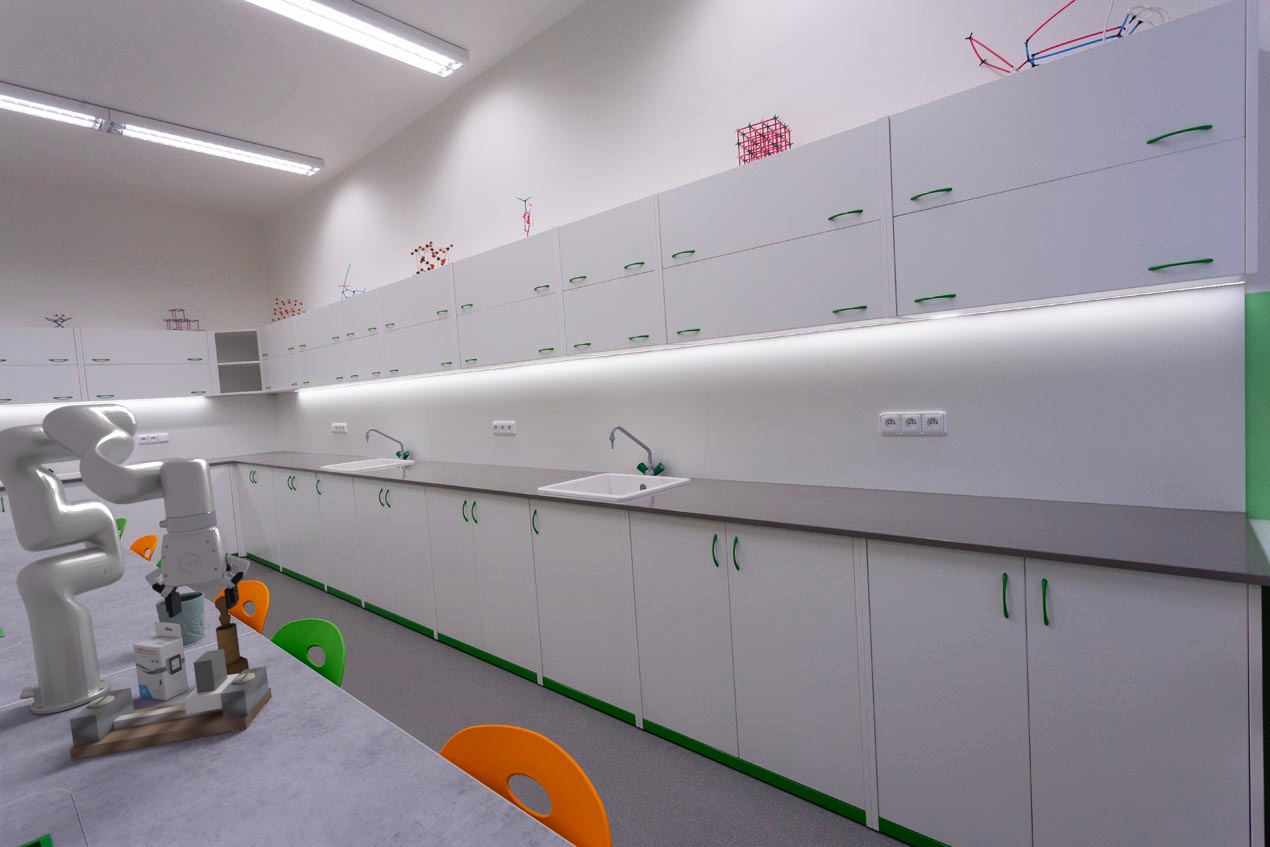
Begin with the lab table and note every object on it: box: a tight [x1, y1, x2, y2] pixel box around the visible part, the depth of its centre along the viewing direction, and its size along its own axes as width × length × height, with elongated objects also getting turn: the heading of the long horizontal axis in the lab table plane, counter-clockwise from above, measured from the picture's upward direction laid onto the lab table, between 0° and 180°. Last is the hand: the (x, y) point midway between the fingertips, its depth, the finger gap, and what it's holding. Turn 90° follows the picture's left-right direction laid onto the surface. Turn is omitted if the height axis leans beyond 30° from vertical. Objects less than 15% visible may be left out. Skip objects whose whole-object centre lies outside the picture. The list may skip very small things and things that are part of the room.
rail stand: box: [69, 666, 273, 760], centre depth 113 cm, size 28×12×8 cm, turn 102°
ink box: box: [132, 621, 189, 701], centre depth 127 cm, size 9×5×15 cm, turn 71°
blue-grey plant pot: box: [155, 591, 205, 646], centre depth 156 cm, size 10×10×12 cm
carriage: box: [183, 649, 239, 714], centre depth 114 cm, size 6×8×9 cm
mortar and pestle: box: [214, 595, 250, 675], centre depth 134 cm, size 7×6×18 cm
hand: (204, 610), depth 113 cm, fingers open, 9 cm apart
